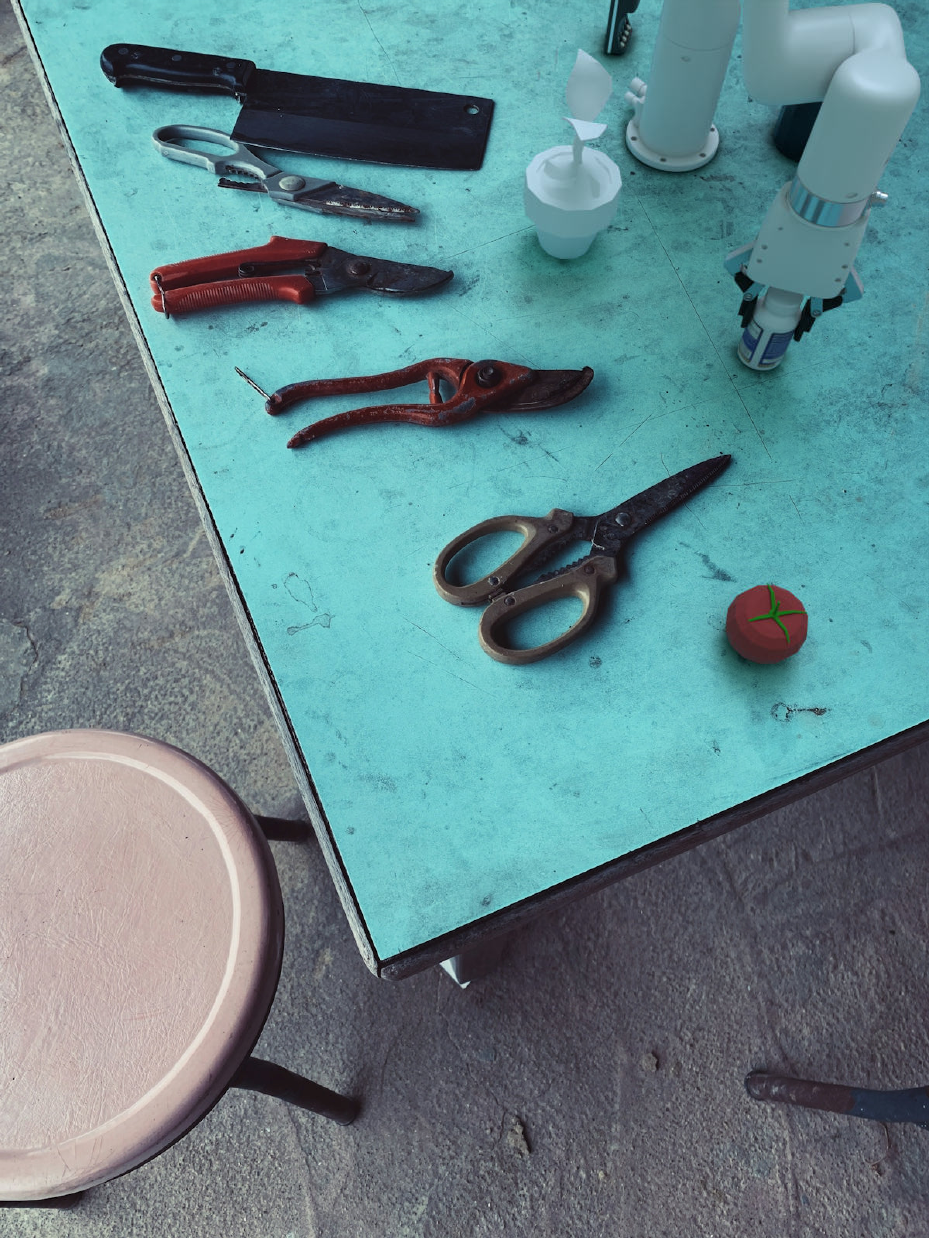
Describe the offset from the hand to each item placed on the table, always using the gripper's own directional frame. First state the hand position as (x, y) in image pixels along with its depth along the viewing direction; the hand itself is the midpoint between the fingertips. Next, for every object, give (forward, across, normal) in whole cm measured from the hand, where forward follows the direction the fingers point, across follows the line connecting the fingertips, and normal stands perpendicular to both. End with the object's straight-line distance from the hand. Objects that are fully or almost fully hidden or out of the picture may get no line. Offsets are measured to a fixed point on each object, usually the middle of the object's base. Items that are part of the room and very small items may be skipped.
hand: (771, 325), depth 106 cm
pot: (+5, 0, -40) cm, 41 cm away
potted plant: (+5, +27, -10) cm, 29 cm away
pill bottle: (+5, 0, 0) cm, 5 cm away
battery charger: (+6, +30, -53) cm, 61 cm away
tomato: (+5, -6, +37) cm, 38 cm away
